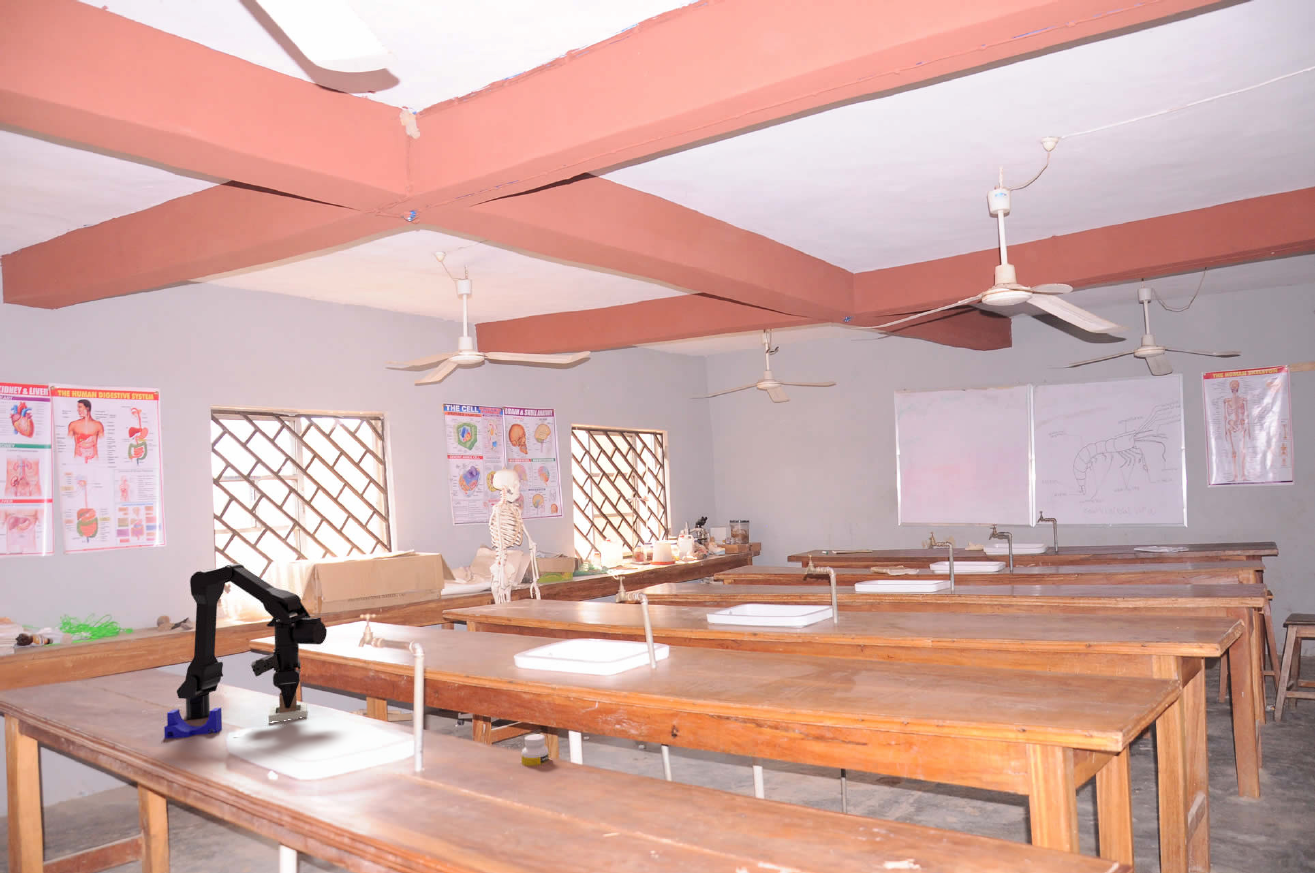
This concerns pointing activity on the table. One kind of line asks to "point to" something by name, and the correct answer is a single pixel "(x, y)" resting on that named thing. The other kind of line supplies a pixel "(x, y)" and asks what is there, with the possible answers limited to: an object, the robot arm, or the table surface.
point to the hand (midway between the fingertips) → (288, 703)
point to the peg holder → (287, 713)
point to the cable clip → (182, 729)
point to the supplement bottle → (534, 750)
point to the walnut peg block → (292, 707)
